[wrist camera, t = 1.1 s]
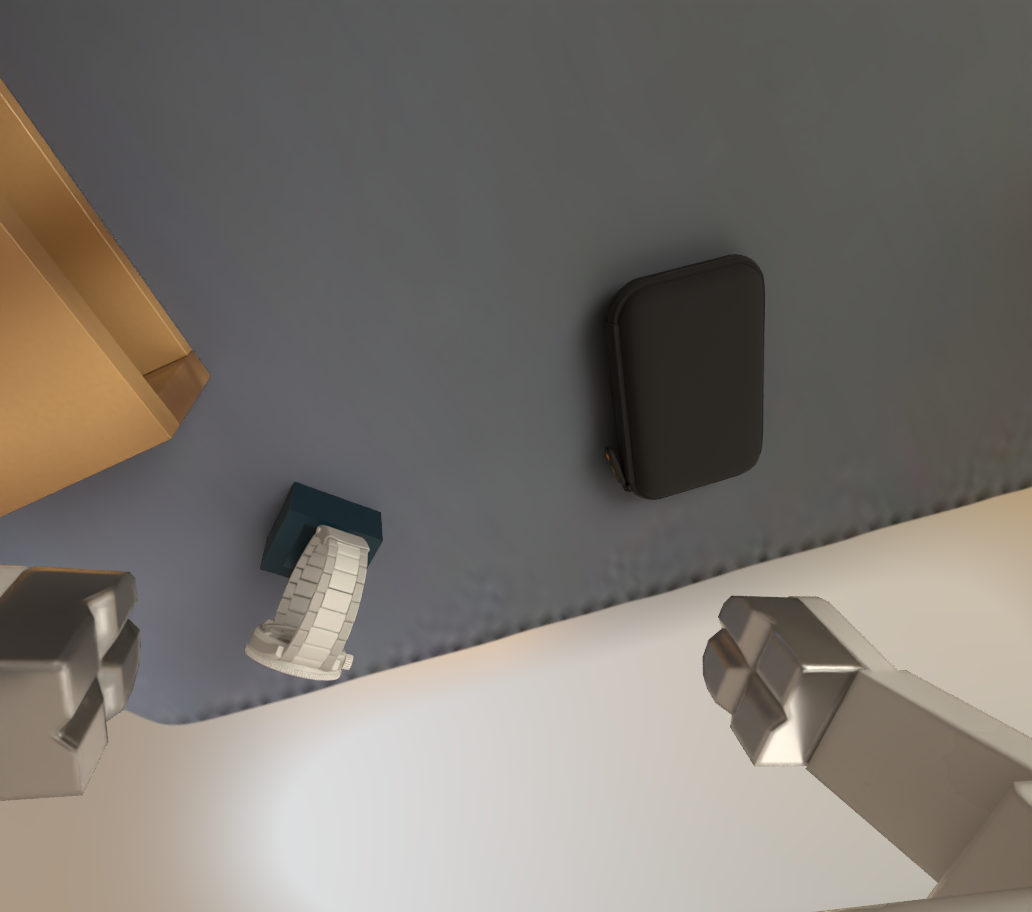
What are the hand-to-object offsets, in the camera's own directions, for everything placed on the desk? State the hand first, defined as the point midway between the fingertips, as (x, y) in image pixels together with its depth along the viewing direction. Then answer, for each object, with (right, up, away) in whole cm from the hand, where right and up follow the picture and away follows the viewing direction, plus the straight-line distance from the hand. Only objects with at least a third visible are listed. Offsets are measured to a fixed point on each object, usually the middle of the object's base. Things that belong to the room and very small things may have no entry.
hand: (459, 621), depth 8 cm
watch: (-11, -2, +30) cm, 32 cm away
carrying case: (+11, +7, +31) cm, 33 cm away
